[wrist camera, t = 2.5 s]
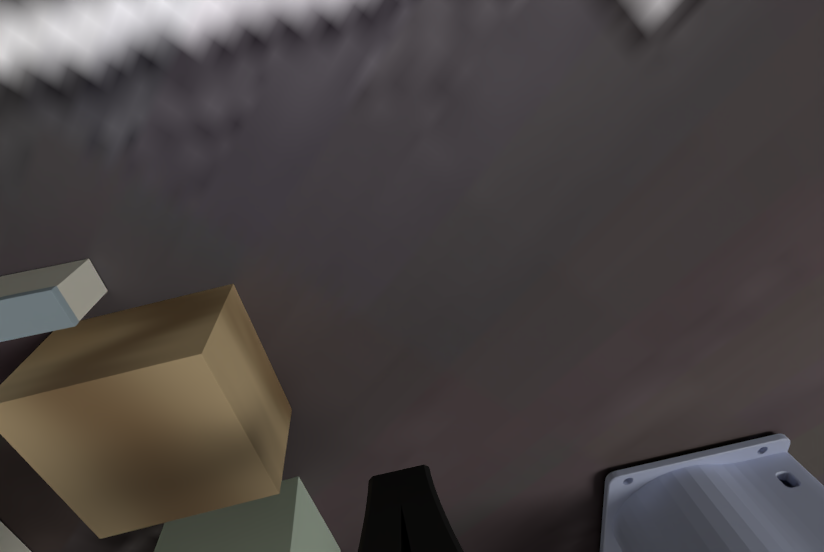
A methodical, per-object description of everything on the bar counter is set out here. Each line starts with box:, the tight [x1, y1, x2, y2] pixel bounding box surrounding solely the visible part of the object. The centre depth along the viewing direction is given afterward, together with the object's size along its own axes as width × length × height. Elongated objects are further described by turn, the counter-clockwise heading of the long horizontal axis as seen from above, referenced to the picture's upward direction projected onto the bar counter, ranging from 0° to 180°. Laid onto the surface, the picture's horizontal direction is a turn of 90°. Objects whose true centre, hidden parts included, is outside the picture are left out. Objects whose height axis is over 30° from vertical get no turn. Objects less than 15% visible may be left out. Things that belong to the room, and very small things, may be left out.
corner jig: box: [0, 259, 107, 552], centre depth 18 cm, size 10×20×2 cm, turn 9°
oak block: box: [0, 284, 292, 539], centre depth 15 cm, size 6×6×4 cm
